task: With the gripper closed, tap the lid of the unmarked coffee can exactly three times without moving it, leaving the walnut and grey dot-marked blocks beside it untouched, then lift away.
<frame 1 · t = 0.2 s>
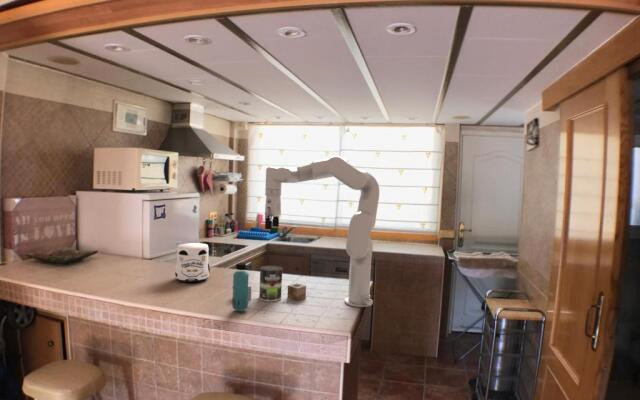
hand: (272, 227, 187), 31 cm above the counter, tool pointing down, fingers open, 9 cm apart
grey dotted block: (243, 297, 177), on the counter
walnut dotted block: (296, 298, 179), on the counter
beverage bottle: (240, 311, 159), on the counter
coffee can: (270, 298, 178), on the counter
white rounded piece: (192, 280, 202), on the counter
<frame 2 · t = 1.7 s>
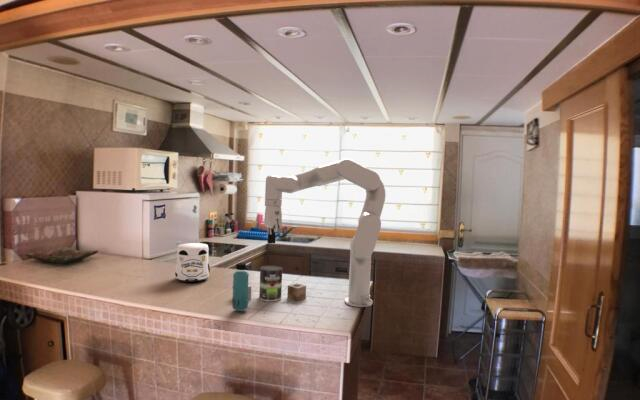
hand: (271, 243, 176), 26 cm above the counter, tool pointing down, fingers closed
nothing on the counter moved.
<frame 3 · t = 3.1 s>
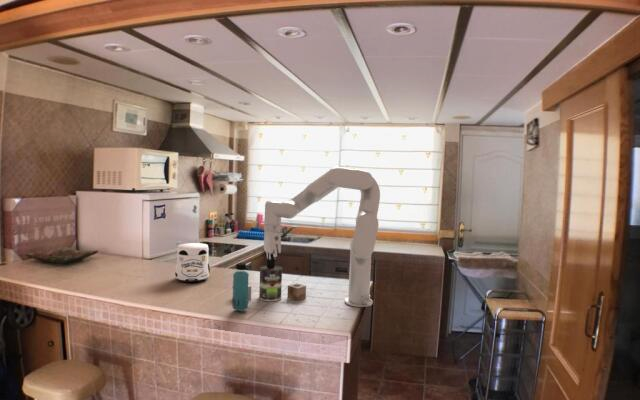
hand: (270, 267, 177), 14 cm above the counter, tool pointing down, fingers closed
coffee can: (270, 298, 178), on the counter, touching gripper
everything else where it was.
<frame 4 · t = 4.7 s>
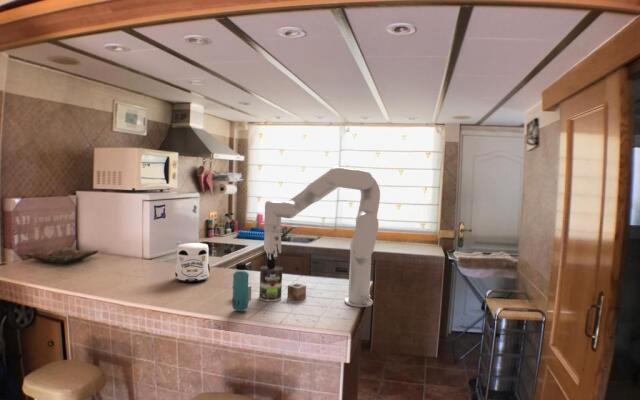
hand: (271, 267, 177), 14 cm above the counter, tool pointing down, fingers closed
nothing on the counter moved.
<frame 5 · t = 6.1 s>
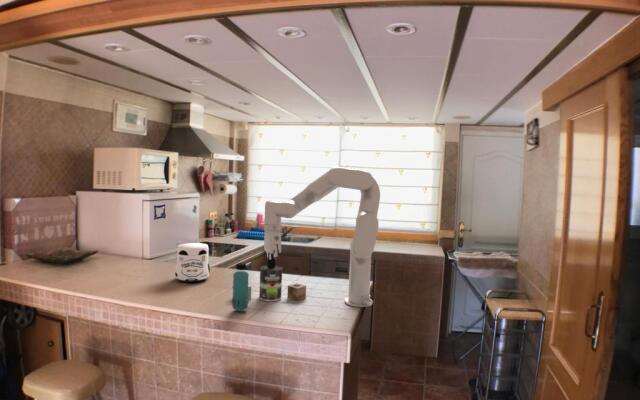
hand: (271, 267, 177), 14 cm above the counter, tool pointing down, fingers closed
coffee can: (270, 298, 178), on the counter
everything else where it was.
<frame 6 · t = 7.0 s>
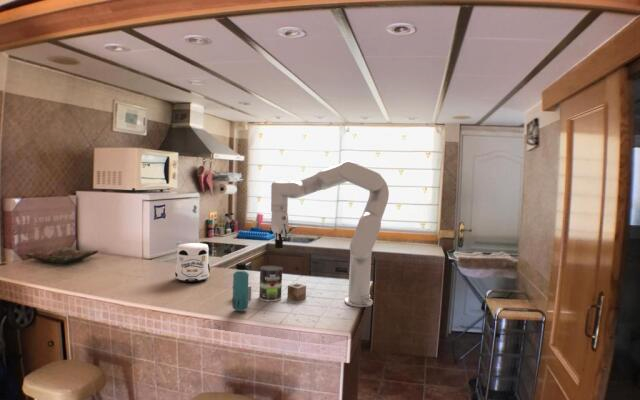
hand: (278, 247, 179), 23 cm above the counter, tool pointing down, fingers closed
nothing on the counter moved.
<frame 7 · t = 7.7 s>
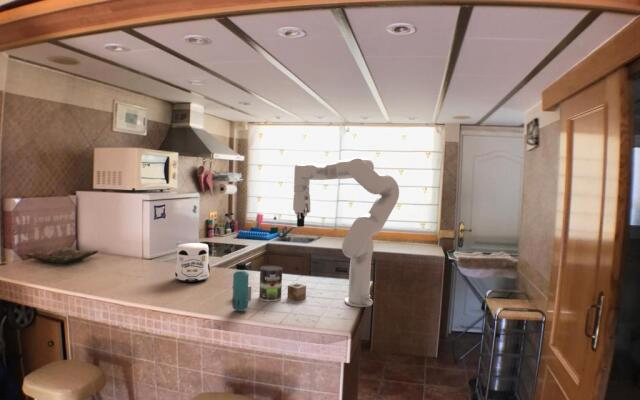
hand: (300, 226, 191), 32 cm above the counter, tool pointing down, fingers closed
nothing on the counter moved.
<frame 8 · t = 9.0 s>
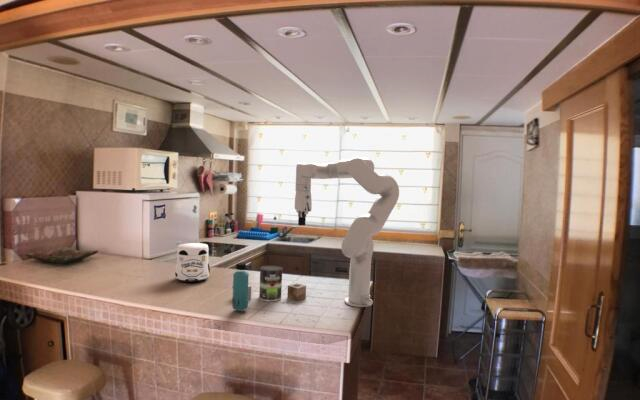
hand: (301, 225, 192), 32 cm above the counter, tool pointing down, fingers closed
nothing on the counter moved.
at the end: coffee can moved 0.2 cm from its start; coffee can tilted 0°; walnut dotted block moved 0.1 cm from its start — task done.
